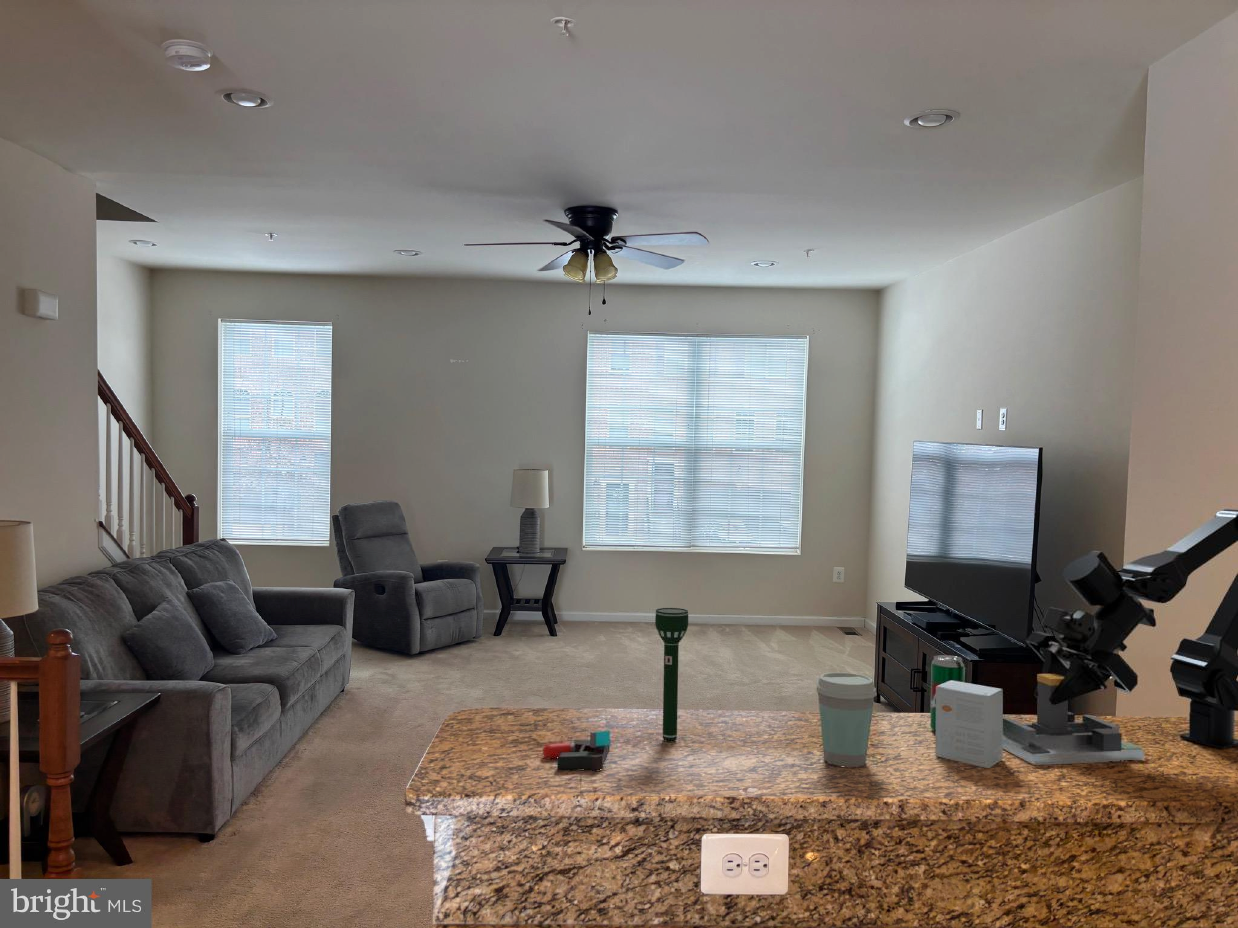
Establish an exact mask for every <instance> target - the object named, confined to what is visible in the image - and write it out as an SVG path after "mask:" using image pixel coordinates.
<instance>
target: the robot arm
mask: <svg viewBox="0 0 1238 928" xmlns="http://www.w3.org/2000/svg"><path fill="white" fill-rule="evenodd" d="M1237 542H1238V509H1229V508H1227V509H1222V510H1220V511H1217V513H1216V514H1215V515H1214V517H1212V518H1211V519H1210V520H1209V521H1207V522H1206V523H1204V524H1202V525H1200V526H1198V528H1196V529H1195V530H1194V531H1192V532H1191V533H1189V534H1188V535H1186V536H1184V537H1183V538H1181V540H1178V541H1177V542H1175V543H1174V544H1173V545H1171V546H1170V547H1169V548H1167V549H1165V550H1163V551H1161V552H1159V553H1154V554H1149V555H1145V556H1142V557H1140V558H1138V559H1136V560H1133V561H1131V562H1129V563H1126V564H1125V565H1124V566H1123V567H1122V568H1121V569H1116V568H1115V566H1113V564H1112V563H1111V562H1110V561H1109V559H1108V557H1107V556H1106V555H1105V553H1104V552H1103V551H1098V550H1091V551H1090V552H1089V554H1086V555H1083V556H1081V557H1079V558H1077V559H1075V560H1073V561H1071V562H1069V563H1068V564H1067V565H1066V566H1065V568H1064V569H1063V572H1062V577H1063V578H1064V580H1065V581H1066V582H1067V583H1068V584H1069V585H1070V587H1071V588H1072V589H1073V590H1074V591H1075V592H1076V593H1077V594H1078V596H1080V598H1081V599H1082V601H1084V603H1086V605H1088V606H1092V607H1093V606H1094V607H1095V606H1096V607H1097V606H1098V607H1097V608H1096V609H1095V610H1094V611H1093V613H1089V612H1088V611H1083V610H1077V611H1076V612H1075V613H1072V612H1069V611H1066V610H1063V609H1060V608H1055V607H1051V606H1049V607H1047V610H1046V612H1045V615H1044V617H1043V619H1042V621H1041V624H1040V626H1041V627H1043V628H1045V629H1050V630H1051V631H1053V632H1056V633H1057V634H1060V635H1058V639H1059V640H1060V641H1061V642H1062V643H1064V644H1065V646H1064V645H1063V644H1062V643H1061V642H1060V641H1059V640H1058V639H1057V638H1056V636H1055V635H1052V634H1049V633H1046V632H1042V631H1033V632H1032V633H1031V634H1030V635H1029V636H1028V637H1027V638H1026V639H1025V642H1026V644H1027V645H1028V646H1029V647H1030V648H1031V649H1032V650H1033V651H1034V652H1035V653H1036V654H1037V655H1038V657H1039V658H1040V659H1041V660H1042V661H1043V668H1042V672H1041V674H1058V675H1061V676H1063V677H1064V678H1063V680H1062V681H1061V682H1060V684H1059V685H1058V686H1057V688H1056V689H1055V690H1054V692H1053V693H1052V695H1051V697H1050V698H1049V701H1050V703H1051V704H1053V705H1056V704H1059V703H1062V702H1064V701H1067V700H1068V701H1070V700H1072V699H1075V698H1078V697H1081V696H1084V695H1086V694H1089V693H1093V692H1096V691H1099V690H1104V691H1105V690H1106V689H1108V685H1106V683H1107V681H1109V679H1113V678H1114V680H1113V686H1114V688H1115V689H1116V690H1118V691H1121V692H1123V693H1127V694H1131V693H1132V691H1134V689H1135V688H1136V687H1137V686H1138V683H1139V676H1138V674H1137V672H1136V671H1135V670H1134V669H1132V666H1130V665H1129V664H1128V662H1127V661H1126V660H1124V658H1123V657H1122V656H1121V655H1120V654H1118V653H1115V652H1116V651H1119V652H1122V653H1123V652H1125V651H1126V650H1127V649H1128V646H1127V645H1126V644H1125V641H1126V639H1127V638H1128V637H1129V636H1130V635H1131V634H1132V633H1133V632H1134V630H1136V628H1137V627H1138V626H1139V625H1142V626H1147V627H1153V628H1155V627H1156V626H1157V622H1156V621H1157V620H1156V617H1155V610H1154V609H1153V608H1150V607H1146V606H1145V605H1144V604H1143V603H1142V601H1140V600H1143V601H1148V602H1153V603H1156V604H1157V603H1158V604H1167V603H1169V602H1171V601H1172V600H1173V599H1174V598H1176V596H1177V595H1178V594H1179V593H1180V592H1181V591H1182V590H1183V589H1184V588H1185V587H1186V586H1187V582H1188V579H1189V576H1191V575H1192V573H1194V572H1195V571H1197V569H1199V568H1201V567H1202V566H1204V565H1206V563H1208V562H1210V561H1211V560H1212V559H1214V558H1215V557H1217V556H1218V555H1220V554H1221V553H1223V552H1224V551H1225V550H1227V549H1228V548H1230V547H1231V546H1233V545H1234V544H1235V543H1237ZM1170 660H1172V662H1171V665H1170V668H1169V671H1170V674H1171V679H1172V681H1173V682H1174V684H1175V688H1176V691H1177V695H1178V696H1179V697H1181V698H1186V699H1189V700H1190V701H1189V714H1188V720H1189V721H1188V732H1185V733H1180V734H1179V738H1181V739H1185V740H1188V741H1191V742H1195V743H1199V744H1202V745H1206V746H1209V747H1211V748H1216V749H1220V750H1221V749H1227V748H1228V749H1229V748H1233V747H1238V738H1235V712H1238V680H1237V679H1238V572H1237V573H1236V575H1235V577H1234V578H1233V580H1232V582H1231V584H1230V586H1229V588H1228V589H1227V591H1226V593H1225V595H1224V597H1223V598H1222V600H1221V602H1220V603H1219V605H1218V608H1217V609H1216V611H1215V612H1214V615H1213V616H1212V618H1211V620H1210V621H1209V623H1208V625H1207V627H1206V629H1205V631H1204V632H1203V634H1202V635H1201V636H1198V638H1195V639H1191V638H1187V637H1184V638H1182V639H1181V641H1180V642H1179V644H1178V647H1177V650H1176V652H1175V653H1173V655H1172V656H1171V657H1170ZM1033 695H1034V696H1035V698H1037V696H1038V684H1037V685H1036V688H1035V690H1034V694H1033Z"/></svg>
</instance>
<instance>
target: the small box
mask: <svg viewBox="0 0 1238 928" xmlns="http://www.w3.org/2000/svg"><path fill="white" fill-rule="evenodd" d="M1003 691H1004V690H1003V688H999V687H998V688H997V687H992V686H986V685H981V684H974V683H969V682H965V681H964V682H958V681H952V680H951V681H948V682H945V683H943V684H941V685H938V686H936V732H935V757H938V758H943V759H945V760H951V761H954V762H959V763H964V764H969V765H972V766H975V767H979V768H980V767H981V768H983V769H990V768H992V767H993V766H995V765H996V764H998V763H999V762H1001V761H1002V760H1003V757H1004V753H1003V750H1004V749H1003V718H1004V717H1003V715H1004V714H1003V713H1004V712H1003V711H1004V709H1003V708H1004V707H1003V706H1004V703H1003V702H1004V699H1003V696H1004V694H1003Z"/></svg>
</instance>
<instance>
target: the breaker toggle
mask: <svg viewBox="0 0 1238 928" xmlns="http://www.w3.org/2000/svg"><path fill="white" fill-rule="evenodd" d="M1036 675H1037V676H1036V679H1037V680H1036V681H1037V685H1038V696H1037V697H1036V698H1037V699H1036V701H1037V703H1036V705H1037V706H1036V707H1037V708H1036V711H1037V712H1036V721H1035V722H1031V723H1032V728H1033V729H1035V730H1036V735H1048V734H1072V733H1073V729H1071V728H1069V727H1068V712H1069V710H1068V709H1069V700H1067V701H1064V702H1062V703H1059V704H1056V705H1053V704H1051V703H1050V701H1049V698H1050V697H1051V695H1052V693H1053V692H1054V690H1055V689H1056V688H1057V686H1058V685H1059V684H1060V682H1061V681H1062V680H1063V678H1064V677H1063V676H1061V675H1058V674H1042V673H1037V674H1036Z"/></svg>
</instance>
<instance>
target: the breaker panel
mask: <svg viewBox="0 0 1238 928" xmlns="http://www.w3.org/2000/svg"><path fill="white" fill-rule="evenodd" d="M1075 719H1076V714H1075V713H1073V712H1070V711H1068V727H1069V728H1071V729H1073V733H1072V734H1048V735H1036V730H1035V729H1033V728H1032V722H1029V723H1023V722H1019V721H1018V720H1015V719H1013V718H1011V717H1003V750H1005V751H1007V752H1008V753H1010V754H1012V755H1014V756H1016V757H1018V759H1022V760H1024V761H1025V762H1027V763H1029V764H1031V765H1033V766H1045V765H1047V766H1048V765H1065V764H1067V765H1068V764H1070V765H1071V764H1088V763H1089V764H1090V763H1091V764H1092V763H1109V761H1113V762H1128V761H1127V760H1134V761H1144V760H1145V759H1144V756H1145V754H1144V753H1145V752H1144V751H1145V750H1144V749H1143V747H1142V746H1139V745H1137V744H1134V743H1133V742H1130V741H1129V742H1127V741H1126V742H1125V741H1124V740H1122V738H1123V736H1122V735H1123V734H1122V732H1120V726H1118V725H1116V724H1114V723H1111V722H1109V721H1106V720H1104V719H1101V718H1098V717H1096V716H1093V715H1091V714H1082V718H1081V719H1082V721H1081V720H1080V721H1075ZM1120 760H1121V761H1120ZM1124 760H1126V761H1124Z"/></svg>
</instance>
